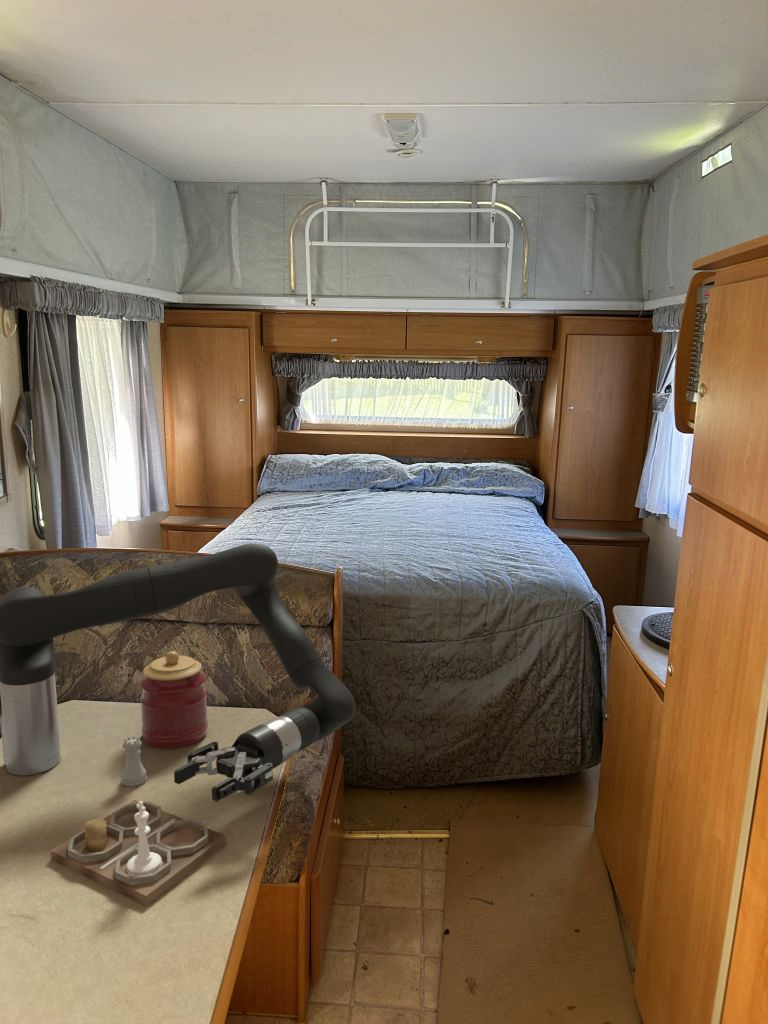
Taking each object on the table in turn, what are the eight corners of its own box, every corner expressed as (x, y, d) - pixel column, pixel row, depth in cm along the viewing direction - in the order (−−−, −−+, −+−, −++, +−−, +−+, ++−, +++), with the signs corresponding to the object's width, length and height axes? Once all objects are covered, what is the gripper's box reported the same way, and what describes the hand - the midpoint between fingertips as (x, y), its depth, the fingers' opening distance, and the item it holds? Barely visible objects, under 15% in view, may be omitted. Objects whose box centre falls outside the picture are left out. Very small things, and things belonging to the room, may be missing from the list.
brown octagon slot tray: (50, 859, 110) (48, 828, 109) (135, 808, 124) (133, 780, 123) (146, 905, 100) (145, 872, 100) (226, 844, 114) (225, 814, 113)
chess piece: (149, 851, 110) (146, 789, 108) (169, 865, 107) (165, 800, 105) (119, 867, 106) (115, 803, 105) (138, 882, 103) (134, 815, 101)
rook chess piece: (138, 789, 130) (136, 746, 129) (115, 786, 131) (113, 743, 130) (151, 776, 134) (149, 734, 133) (129, 773, 135) (127, 732, 134)
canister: (192, 752, 143) (189, 665, 140) (130, 747, 145) (125, 661, 142) (218, 723, 156) (215, 642, 153) (159, 718, 158) (156, 639, 155)
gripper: (238, 714, 129) (162, 750, 116) (299, 735, 121) (226, 777, 108) (239, 754, 131) (164, 794, 117) (300, 778, 123) (227, 824, 109)
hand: (194, 786), depth 113 cm, fingers open, 8 cm apart
